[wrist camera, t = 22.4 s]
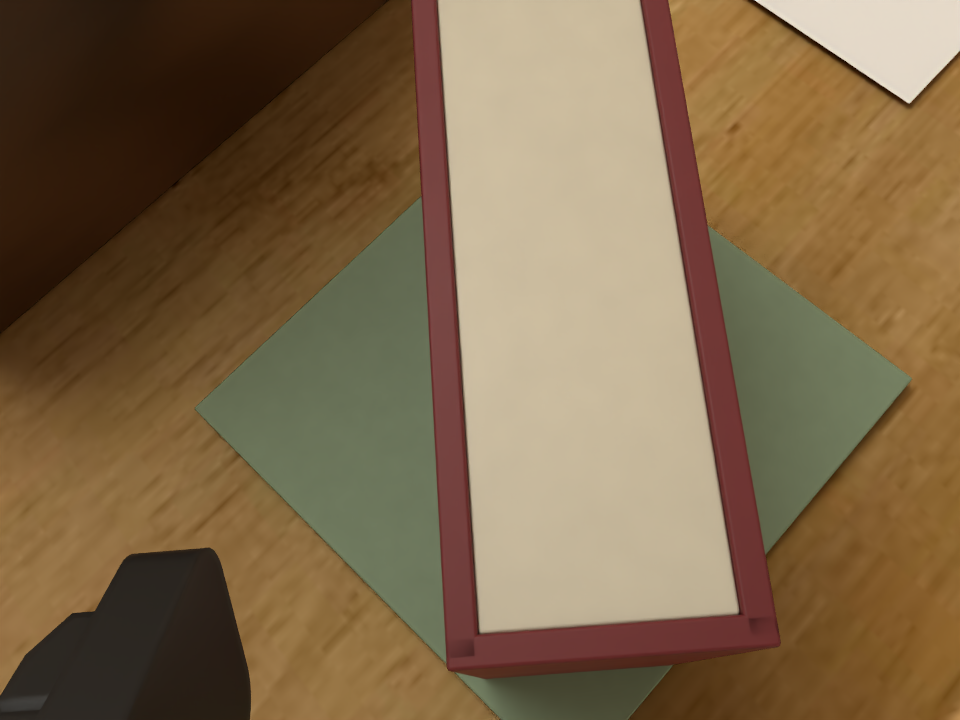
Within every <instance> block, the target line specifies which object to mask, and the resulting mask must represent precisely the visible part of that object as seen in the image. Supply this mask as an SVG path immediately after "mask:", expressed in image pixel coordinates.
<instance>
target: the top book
mask: <svg viewBox="0 0 960 720" xmlns="http://www.w3.org/2000/svg"><path fill="white" fill-rule="evenodd" d="M411 8H412V27H413V46H414V64H415V83H416V102H417V120H418V139H419V158H420V176H421V195H422V214H423V232H424V251H425V270H426V289H427V307H428V326H429V345H430V363H431V382H432V401H433V419H434V438H435V457H436V476H437V494H438V513H439V532H440V550H441V569H442V588H443V606H444V625H445V644H446V662H447V669H448V670H449V671H452V672H456V673H461V674H465V675H469V676H474V677H478V678H482V679H493V678H507V677H520V676H534V675H547V674H561V673H574V672H588V671H601V670H615V669H628V668H642V667H655V666H669V665H675V664H681V663H687V662H693V661H698V660H704V659H710V658H716V657H722V656H728V655H734V654H740V653H746V652H751V651H757V650H763V649H769V648H775V647H779V646H780V644H781V640H780V635H779V629H778V623H777V618H776V612H775V606H774V601H773V595H772V589H771V584H770V578H769V572H768V566H767V561H766V555H765V549H764V544H763V538H762V532H761V527H760V521H759V515H758V510H757V504H756V498H755V492H754V487H753V481H752V475H751V470H750V464H749V458H748V453H747V447H746V441H745V435H744V430H743V424H742V418H741V413H740V407H739V401H738V396H737V390H736V384H735V379H734V373H733V367H732V361H731V356H730V350H729V344H728V339H727V333H726V327H725V322H724V316H723V310H722V305H721V299H720V293H719V287H718V282H717V276H716V270H715V265H714V259H713V253H712V248H711V242H710V236H709V230H708V225H707V219H706V213H705V208H704V202H703V196H702V191H701V185H700V179H699V174H698V168H697V162H696V156H695V151H694V145H693V139H692V134H691V128H690V122H689V117H688V111H687V105H686V100H685V94H684V88H683V82H682V77H681V71H680V65H679V60H678V54H677V48H676V43H675V37H674V31H673V26H672V20H671V14H670V8H669V3H668V0H411Z"/></svg>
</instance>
